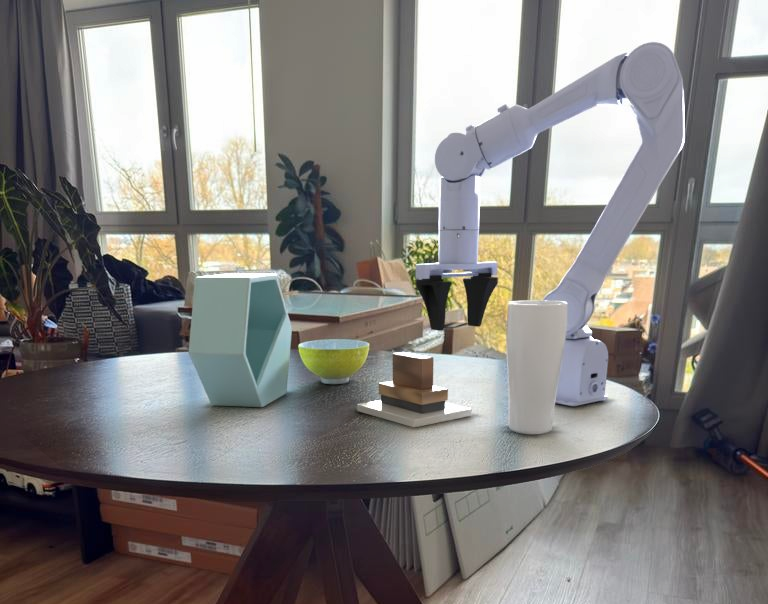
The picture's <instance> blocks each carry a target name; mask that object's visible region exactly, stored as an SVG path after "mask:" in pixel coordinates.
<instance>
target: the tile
mask: <svg viewBox="0 0 768 604" xmlns="http://www.w3.org/2000/svg"><path fill="white" fill-rule="evenodd" d="M356 406H357V407H356V409H357V412H359V413H363V414H365V415H368V416H369V415H370V416H373V417H377V418H379V419H382V420H383V419H384V420H387V421H391V422H393V423H397V424H400V425H403V426H406V427H407V426H408V427H411V428H419V427H423V426H429V425H433V424H439V423H443V422H448V421H452V420H457V419H458V420H459V419H463V418H468V417H472V414H473V410H472V409H473V408H471V407H466V406H462V405H459V404H454V403H450V402H446V401H445V409H443V410H438V411H433V412H427V413H418V412H414V411H410V410H406V409H403V408H399V407H395V406H391V405H388V404H384V403H381V399H379V400H374V401H367V402H362V403H357V404H356Z"/></svg>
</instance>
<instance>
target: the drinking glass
mask: <svg viewBox="0 0 768 604" xmlns="http://www.w3.org/2000/svg"><path fill="white" fill-rule="evenodd" d="M567 305H568V304H567V303H566V302H563V301H550V300H543V299H527V300H525V299H523V300H522V299H521V300H512V301H509V302H508V306H507V319H506V337H505V338H506V344H505V345H506V366H507V367H506V371H507V405H508V407H507V408H508V410H507V414H508V415H507V427H508V429H509V430H510V431H511V432H514V433H517V434H520V435H521V434H522V435H544V434H547V433H549V432H550V431H552V429H553V426H554V414H555V407H556V403H555V401H556V395H557V389H558V382H559V376H560V370H561V364H562V358H563V352H564V346H565V338H566V328H567Z"/></svg>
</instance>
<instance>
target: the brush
mask: <svg viewBox="0 0 768 604" xmlns="http://www.w3.org/2000/svg"><path fill="white" fill-rule="evenodd" d="M378 395H380V400H381V403H384V404H388V405H391V406H395V407H399V408H403V409H406V410H410V411H414V412H418V413H427V412H433V411H438V410H443V409H445V402H446V401H448V400H449V399H448V398H449V388H445V387H441V386H437V385H434V356H428V355H424V354H423V355H422V354H418V353H417V354H416V353H413V352H412V353H411V352H406V351H402V352H393V353H392V380H390V381H383V382H379V383H378Z"/></svg>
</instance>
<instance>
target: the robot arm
mask: <svg viewBox="0 0 768 604" xmlns="http://www.w3.org/2000/svg"><path fill="white" fill-rule="evenodd" d="M623 99H626V100H627V103H628V104H629V107H631V110H632V111H633V113H634V115H636V117H635V118H636V123H637V126H638V130H639V135H640V138H641V144H640V145H639V147H638V149H637V151H636V153H634V156H633V157H632V160H631V162H630V163H629V165H628V167H627V169H626V171H625V172H624V174H623V175H622V177H621V179H620V181H619V183H618V184H617V186H616V188H615V189H614V191H613V193H612V195H611V197H610V198H609V200H608V202H607V203H606V205H605V207H604V209H603V211H602V213H601V215H600V216H599V218H598V220H597V221H596V223H595V225H594V227H593V229H592V230H591V232H590V234H589V236H588V237H587V239H586V241H585V242H584V244H583V246H582V248H581V250H580V251H579V253H578V255H577V256H576V258H575V261H574V262H573V263H572V265H571V266H570V267H569V269H568V270H567V271H566V273H565V274H564V276H563V277H562V279H561V280H560V282H559V284H558V285H557V286H556V287H555V288H554V289H553V290H551V291H550V292H548V293H547V294H546V295H545V296H544V297H543V298H542V300H550V301H563V302H566V303H567V304H568V305H567V328H566V338H565V346H564V352H563V358H562V364H561V370H560V376H559V382H558V389H557V395H556V401H555V404H560V405H563V406H569V407H577V406H582V405H586V404H591V403H595V402H596V403H597V402H599V401H600V402H601V401H605V400H608V398H609V397H608V395H606V387H607V378H608V377H607V376H608V365H609V350H608V347H607V345H606V344H605V343H604V342H603V341H602V340H599V339H594V338H593V337H592V335H593V331H592V330H591V329H590V327H589V325H587V323H588V322H589V321H590V320H591V318H592V317H593V314H594V312H595V303H596V302H595V301H596V298H597V295H598V294H599V292H600V290H601V288H602V287H603V284H604V281H605V279H606V278H607V276H608V273H609V272H610V270H611V269H612V267H613V265H614V263H615V262H616V260H617V259H618V257H619V255H620V253H621V252H622V250H623V248H624V246H625V245H626V243H627V242H628V240H629V239H630V236H631V235H632V233H633V231H635V229H636V226H637V225H638V223H639V221H640V220H641V218H642V217H643V215H644V213H645V211H646V210H647V208H648V206H649V205H650V203H651V201H652V199H653V198H654V196H655V195H656V193H657V191H658V189H659V188H660V186H661V184H662V183H663V181H664V180H665V177H666V176H667V174H668V172H669V171H670V169H671V168H672V166H673V164H674V162H675V161H676V159H677V157H678V156H679V154H680V152H681V151H682V149H683V147H684V144H685V89H684V80H683V76H682V72H681V70H680V67H679V64H678V61H677V58H676V56H675V54H674V52H673V50H672V49H670V47H669V46H667V45H666V44H663V43H662V42H657V41H650V42H646V43H643V44H641V45H639V46H637V47H635V48H634V49H633V50H632V51H631V52H629V54H628V52H624V53H622V54H619V55H615V56H614V57H612V58H611V59H609V60H608V61H606V62H605V63H602V64H601V65H599V66H597V67H596V68H594V69H592V70H591V71H589V72H588V73H586V74H584V75H582V76H581V77H579V78H578V79H576V80H574V81H572V82H571V83H569V84H568V85H566V86H564V87H562V88H560V89H559V90H557V91H556V92H554V93H552V94H551V95H549V96H547V97H546V98H544V99H542V100H541V101H539V102H538V103H536V104H534V105H532V106H531V107H529V108H527V107H524V106H522V105H519V104H513V105H512V106H509V105H508V104H502V105H501V106H500V107H498V108H497V114H495V115H494V116H491V117H490V118H488V119H486V120H484V121H483V122H480V123H479V124H477V125H476V126H474V124H470V125H467V126H466V127H465V134H464V133H461V132H451V133H449V134H448V136H446V137H444V139H442V140H441V142H440V143H439V144H438V145H437V148H436V149H435V154H434V165H435V168H436V171H437V173H438V174H439V175H440V177H439V196H438V197H439V198H438V251H437V252H438V255H437V256H438V257H437V258H438V259H437V260H438V261H437V262H431V263H416V264H415V288H417V290H418V292H419V294H420V296H421V298H422V301H423V303H424V306H425V309H426V312H427V317H428V321H429V327H430V330H432V331H438V332H439V331H440V332H441V331H444V329H445V324H446V312H447V311H446V310H447V302H448V298H449V293H450V289H451V286H452V285H453V283H452V282H451V281H448V280H447V281H445V280H444V278H459V277H460V278H461V277H464V278H462V282H463V285H464V290H465V296H466V319H467V320H466V321H467V325H468V326H469V327H476V328H477V327H478V328H479V327H481V326H482V323H483V319H484V315H485V312H486V309H487V306H488V303H489V301H490V298H491V296H492V294H493V293H494V290H495V289H496V287H497V286H498V284H499V277H498V276H497V275H498V261H478V260H479V238H480V237H479V235H480V209H481V208H480V207H481V194H480V193H481V191H480V190H481V188H480V187H481V178H482V177H483V175H484V174H485V172H486V170H488V171H489V170H492V169H493V168H496V167H497V166H500V165H502V164H503V163H505V162H507V161H510V160H511V159H513V158H515V157H517V156H519V155H521V154H523V153H525V152H527V151H528V150H530V149H532V148H533V146H534V144H535V141H536V139H537V136H538V135H539V134H540V133H542V132H544V131H546V130H548V129H550V128H553V127H554V126H557V125H559V124H561V123H563V122H564V121H567V120H570V119H571V118H574V117H576V116H578V115H579V114H582V113H584V112H586V111H588V110H590V109H593V108H595V107H598V106H599V107H600V106H602V107H608V108H616V109H622V108H623ZM459 270H461V271H463V272H455V273H454V272H453V271H459Z"/></svg>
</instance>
